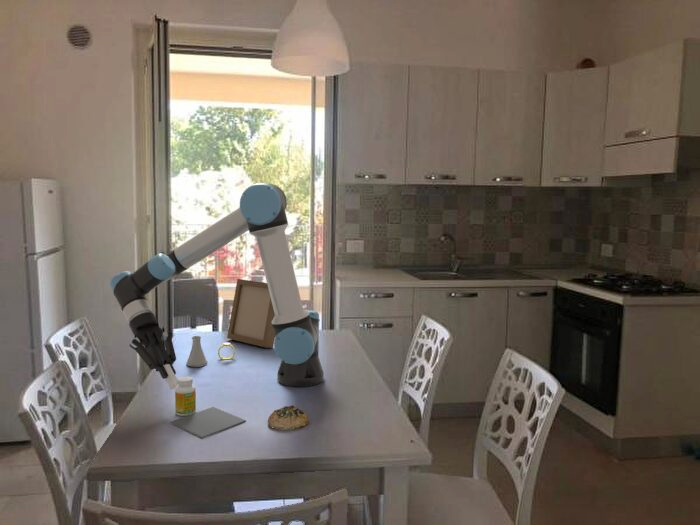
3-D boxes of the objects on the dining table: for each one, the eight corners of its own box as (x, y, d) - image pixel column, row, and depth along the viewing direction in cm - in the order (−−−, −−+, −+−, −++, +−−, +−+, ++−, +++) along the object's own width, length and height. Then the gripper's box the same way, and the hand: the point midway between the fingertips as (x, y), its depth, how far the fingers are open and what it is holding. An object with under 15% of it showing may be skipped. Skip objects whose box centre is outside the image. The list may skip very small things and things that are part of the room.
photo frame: (265, 349, 219) (266, 286, 216) (226, 340, 231) (227, 280, 228) (290, 342, 231) (291, 282, 228) (252, 334, 243) (253, 276, 240)
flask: (201, 368, 195) (201, 340, 194) (182, 366, 196) (181, 338, 195) (210, 362, 202) (210, 335, 201) (192, 360, 203) (191, 333, 202)
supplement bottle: (184, 418, 152) (184, 383, 151) (171, 413, 155) (170, 379, 154) (199, 411, 157) (199, 377, 156) (186, 407, 160) (185, 374, 159)
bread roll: (283, 411, 159) (285, 395, 158) (316, 425, 153) (318, 408, 152) (258, 426, 149) (259, 409, 148) (291, 442, 144) (293, 424, 143)
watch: (234, 358, 208) (235, 342, 208) (234, 360, 206) (235, 344, 205) (217, 358, 207) (218, 342, 206) (217, 360, 204) (218, 344, 203)
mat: (169, 423, 149) (169, 421, 149) (213, 408, 160) (213, 406, 160) (202, 438, 140) (202, 437, 140) (245, 421, 151) (245, 420, 151)
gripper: (156, 322, 173) (189, 387, 165) (115, 329, 163) (148, 399, 155) (165, 307, 169) (199, 373, 161) (124, 314, 159) (158, 385, 151)
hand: (174, 386), depth 158 cm, fingers closed
